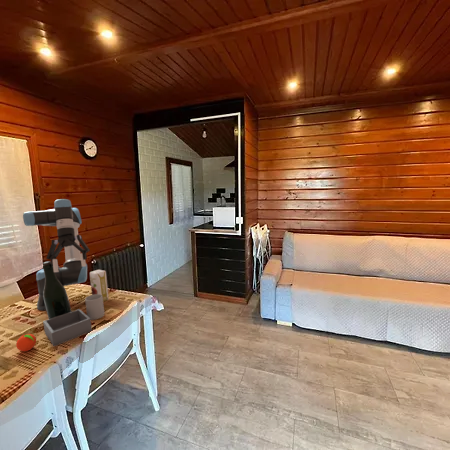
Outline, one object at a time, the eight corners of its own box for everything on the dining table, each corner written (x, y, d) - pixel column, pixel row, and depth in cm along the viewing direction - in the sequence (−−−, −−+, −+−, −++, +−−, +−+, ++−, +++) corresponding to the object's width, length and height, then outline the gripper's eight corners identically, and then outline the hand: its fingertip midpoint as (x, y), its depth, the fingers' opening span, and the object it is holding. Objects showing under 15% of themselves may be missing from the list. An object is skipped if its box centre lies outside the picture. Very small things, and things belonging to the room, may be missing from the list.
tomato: (43, 346, 112) (40, 331, 111) (27, 356, 105) (25, 340, 105) (29, 344, 114) (27, 329, 113) (13, 353, 108) (10, 338, 107)
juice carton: (102, 296, 164) (99, 268, 161) (110, 299, 159) (107, 270, 157) (91, 301, 157) (87, 272, 155) (99, 304, 153) (96, 274, 150)
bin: (45, 333, 122) (43, 321, 122) (81, 320, 134) (79, 308, 133) (53, 346, 111) (51, 332, 111) (91, 331, 123) (90, 318, 122)
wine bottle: (45, 327, 129) (29, 267, 121) (55, 316, 139) (41, 259, 131) (67, 323, 130) (52, 264, 123) (76, 312, 140) (62, 257, 133)
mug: (102, 318, 135) (100, 299, 133) (85, 321, 133) (82, 301, 131) (107, 308, 146) (105, 290, 145) (91, 311, 144) (88, 292, 143)
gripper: (35, 232, 126) (39, 274, 122) (86, 222, 128) (91, 263, 124) (45, 234, 133) (49, 274, 129) (93, 225, 135) (98, 264, 132)
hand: (70, 269), depth 127 cm, fingers open, 13 cm apart
